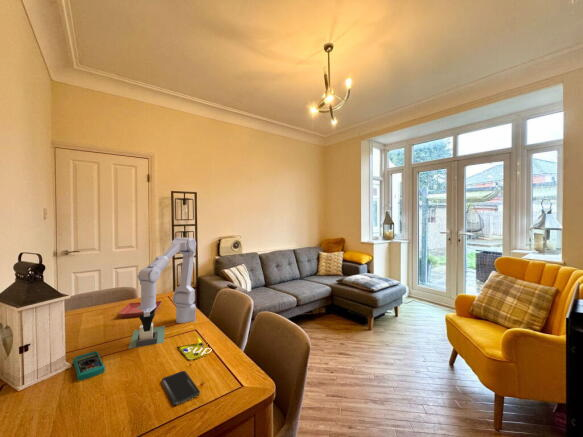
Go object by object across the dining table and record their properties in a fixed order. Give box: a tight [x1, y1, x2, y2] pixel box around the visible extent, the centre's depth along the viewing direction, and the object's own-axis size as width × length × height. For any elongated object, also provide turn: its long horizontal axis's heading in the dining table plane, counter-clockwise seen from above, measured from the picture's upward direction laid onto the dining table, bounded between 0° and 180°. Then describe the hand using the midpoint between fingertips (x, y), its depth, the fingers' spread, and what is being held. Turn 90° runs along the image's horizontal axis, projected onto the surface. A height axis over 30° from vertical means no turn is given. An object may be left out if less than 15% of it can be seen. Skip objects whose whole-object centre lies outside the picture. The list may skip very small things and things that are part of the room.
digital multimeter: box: [72, 350, 106, 381], centre depth 90 cm, size 7×15×3 cm, turn 46°
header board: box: [128, 325, 166, 349], centre depth 113 cm, size 13×18×3 cm
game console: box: [176, 335, 213, 361], centre depth 106 cm, size 18×11×2 cm, turn 45°
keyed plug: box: [139, 322, 154, 340], centre depth 108 cm, size 5×4×7 cm
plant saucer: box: [118, 300, 163, 319], centre depth 144 cm, size 18×18×3 cm
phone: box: [161, 370, 201, 407], centre depth 81 cm, size 8×1×15 cm
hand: (147, 327), depth 108 cm, fingers open, 7 cm apart
